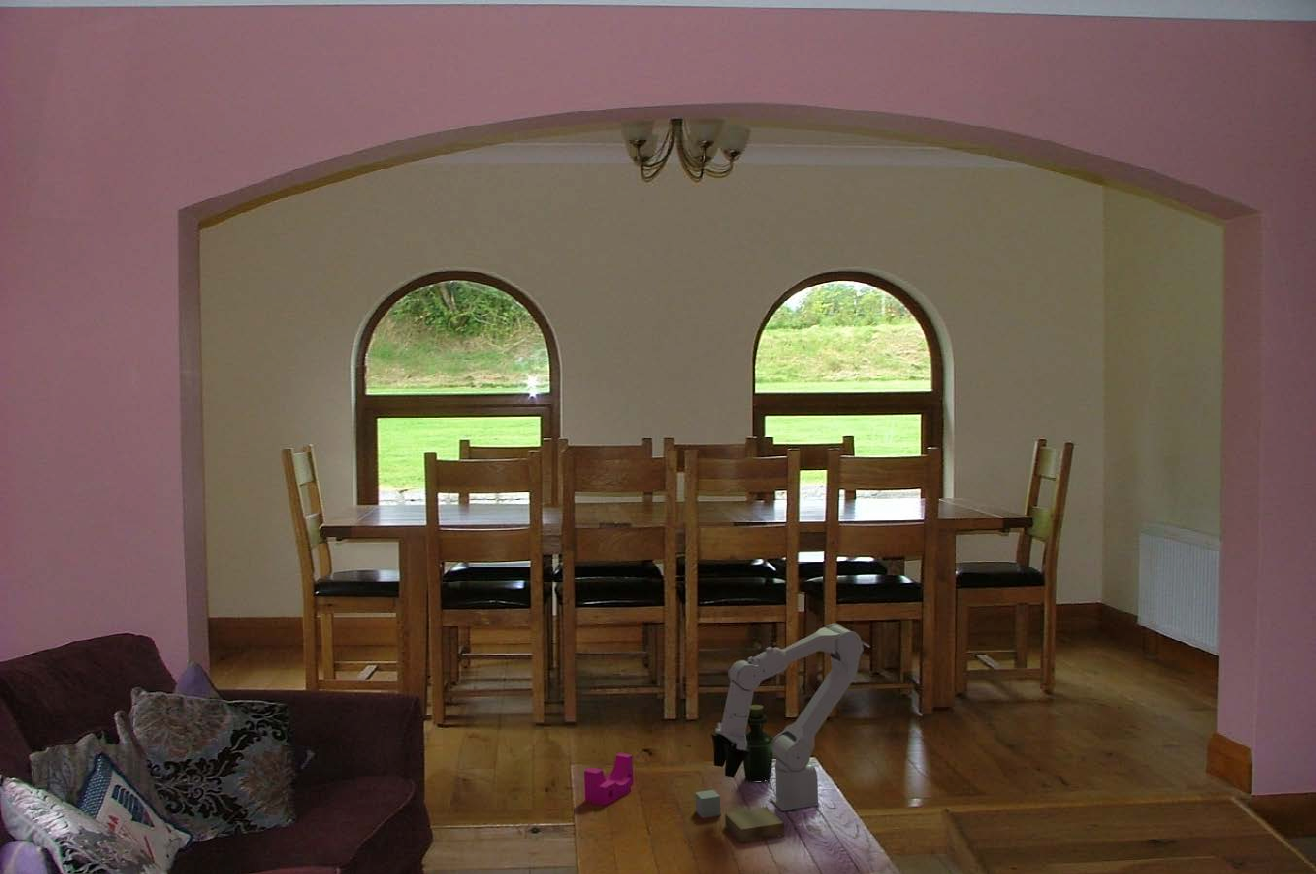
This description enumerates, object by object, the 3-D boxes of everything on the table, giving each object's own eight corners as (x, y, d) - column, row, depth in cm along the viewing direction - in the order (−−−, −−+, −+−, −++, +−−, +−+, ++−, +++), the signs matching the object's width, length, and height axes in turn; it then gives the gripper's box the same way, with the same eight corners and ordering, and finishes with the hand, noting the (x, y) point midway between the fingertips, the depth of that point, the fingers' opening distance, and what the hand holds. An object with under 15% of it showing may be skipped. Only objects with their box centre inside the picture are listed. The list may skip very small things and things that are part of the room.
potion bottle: (778, 782, 298) (776, 710, 297) (746, 785, 297) (744, 713, 296) (769, 771, 306) (767, 701, 305) (737, 774, 305) (735, 704, 303)
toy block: (606, 806, 287) (604, 775, 286) (585, 801, 290) (583, 771, 290) (642, 786, 299) (640, 756, 299) (621, 782, 303) (620, 752, 302)
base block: (767, 819, 274) (766, 807, 274) (784, 836, 265) (783, 822, 265) (725, 826, 271) (725, 813, 271) (741, 843, 262) (740, 829, 262)
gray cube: (714, 808, 283) (713, 789, 282) (720, 815, 278) (720, 796, 278) (695, 811, 281) (695, 792, 281) (702, 818, 277) (701, 799, 277)
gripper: (710, 702, 284) (697, 759, 284) (731, 719, 270) (718, 779, 270) (737, 706, 286) (725, 763, 286) (760, 724, 272) (747, 783, 272)
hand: (723, 771), depth 278 cm, fingers open, 7 cm apart
